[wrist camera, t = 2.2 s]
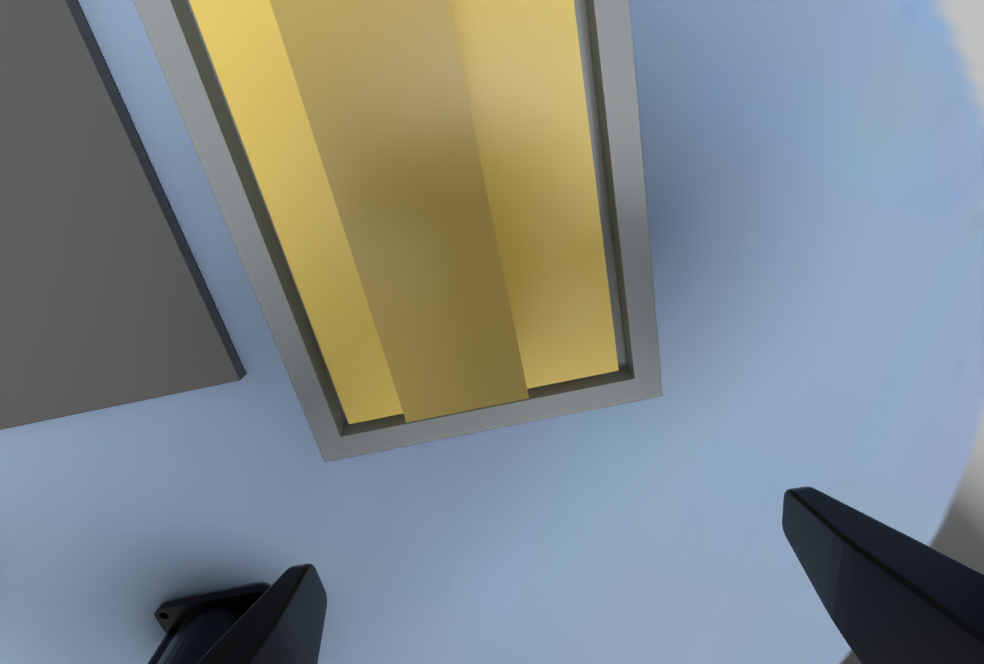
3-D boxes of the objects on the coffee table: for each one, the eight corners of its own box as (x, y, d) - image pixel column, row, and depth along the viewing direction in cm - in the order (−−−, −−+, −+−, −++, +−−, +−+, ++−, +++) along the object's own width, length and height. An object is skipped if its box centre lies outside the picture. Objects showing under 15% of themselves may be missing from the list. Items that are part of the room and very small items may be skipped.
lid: (356, 407, 16) (312, 504, 11) (191, -46, 11) (15, -163, 7) (610, 356, 15) (660, 437, 11) (546, -136, 11) (593, -319, 6)
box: (369, 369, 22) (324, 462, 15) (237, -17, 16) (83, -121, 10) (607, 320, 21) (662, 395, 15) (554, -96, 16) (606, -259, 9)
